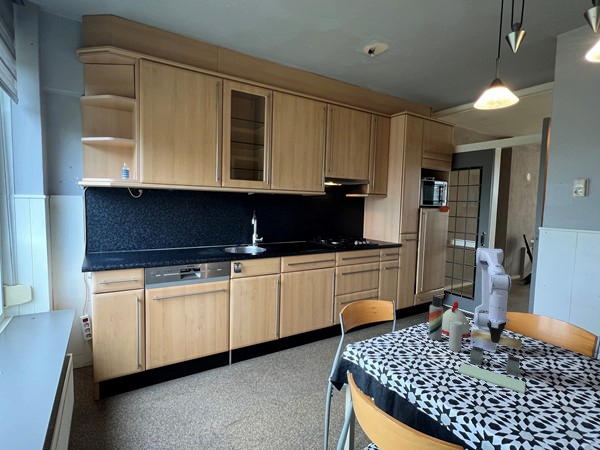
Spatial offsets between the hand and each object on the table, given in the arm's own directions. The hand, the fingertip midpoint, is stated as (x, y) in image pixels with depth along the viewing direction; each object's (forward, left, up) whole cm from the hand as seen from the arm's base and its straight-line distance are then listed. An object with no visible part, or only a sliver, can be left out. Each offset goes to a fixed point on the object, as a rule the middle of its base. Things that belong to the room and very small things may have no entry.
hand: (495, 341), depth 118 cm
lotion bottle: (-25, +14, -11) cm, 30 cm away
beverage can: (-15, +7, -11) cm, 19 cm away
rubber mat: (0, -9, -10) cm, 14 cm away
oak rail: (0, 0, 0) cm, 0 cm away
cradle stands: (0, +1, -10) cm, 10 cm away
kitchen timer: (-20, +29, -11) cm, 36 cm away
